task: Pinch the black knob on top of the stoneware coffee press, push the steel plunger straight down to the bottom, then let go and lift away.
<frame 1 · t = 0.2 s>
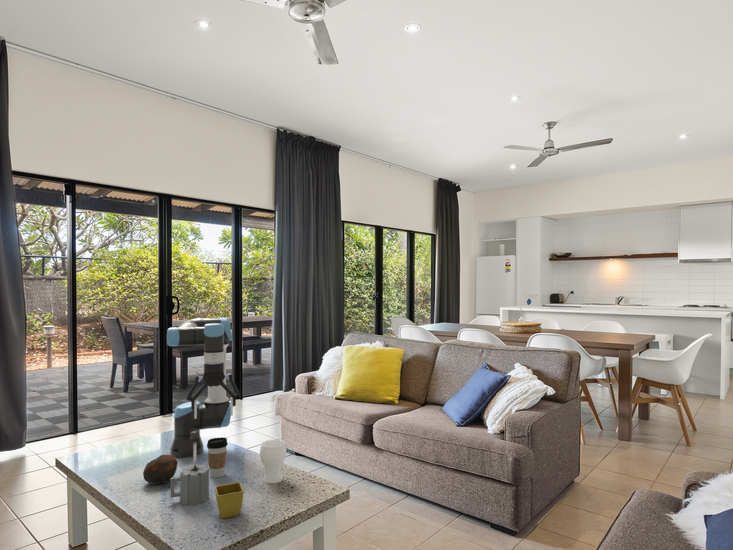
hand: (213, 416, 184), 28 cm above the table, fingers open, 13 cm apart
cup: (273, 480, 191), on the table
coffee cup: (217, 475, 197), on the table
rock: (160, 482, 190), on the table
press carafe: (194, 498, 175), on the table
flower pot: (229, 515, 162), on the table
plunger: (194, 454, 175), point 17 cm above the table, slide at 0.0 cm
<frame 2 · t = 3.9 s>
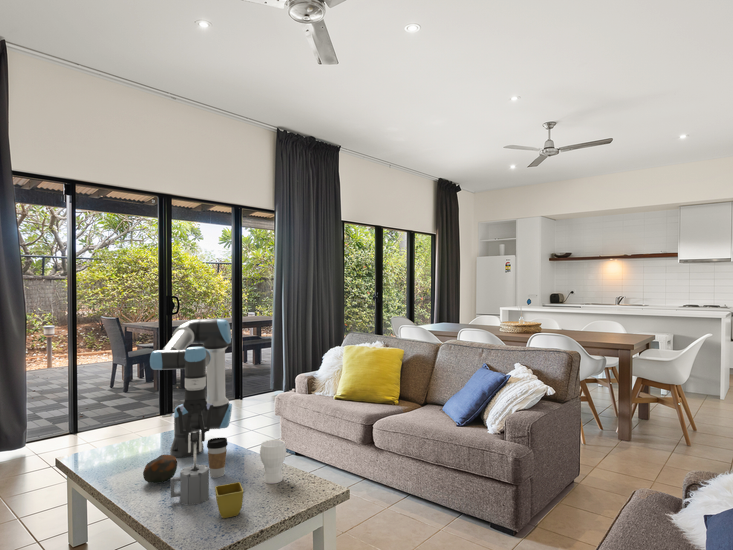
hand: (195, 450, 175), 18 cm above the table, fingers closed on plunger, 3 cm apart
plunger: (194, 454, 175), point 16 cm above the table, slide at 0.0 cm, touching gripper
everything else where it was.
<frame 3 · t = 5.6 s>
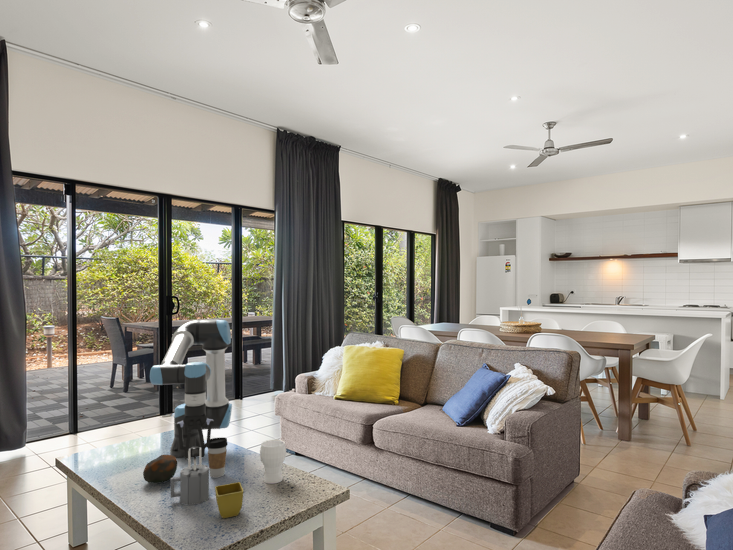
hand: (194, 466, 175), 12 cm above the table, fingers closed on plunger, 3 cm apart
plunger: (194, 470, 175), point 11 cm above the table, slide at 5.9 cm, touching gripper
everything else where it was.
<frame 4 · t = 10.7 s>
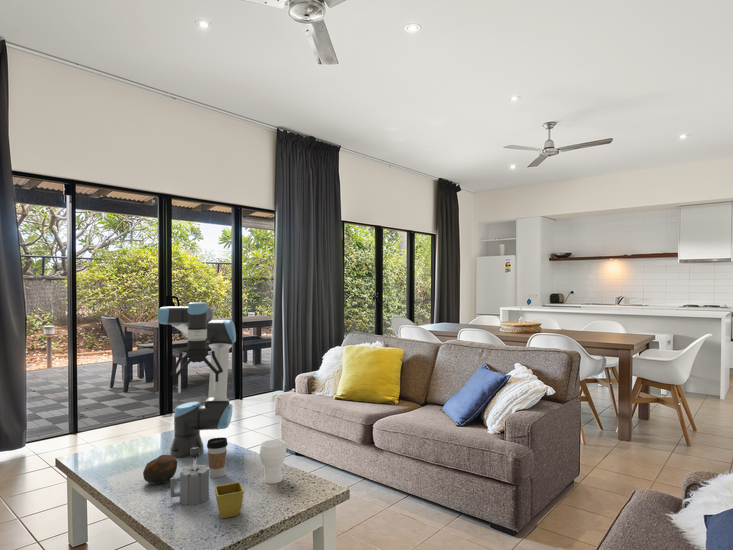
hand: (197, 391, 192), 37 cm above the table, fingers open, 13 cm apart
plunger: (194, 470, 175), point 10 cm above the table, slide at 6.0 cm
everything else where it was.
at the end: plunger slide at 6.0 cm; the gripper is holding nothing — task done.
